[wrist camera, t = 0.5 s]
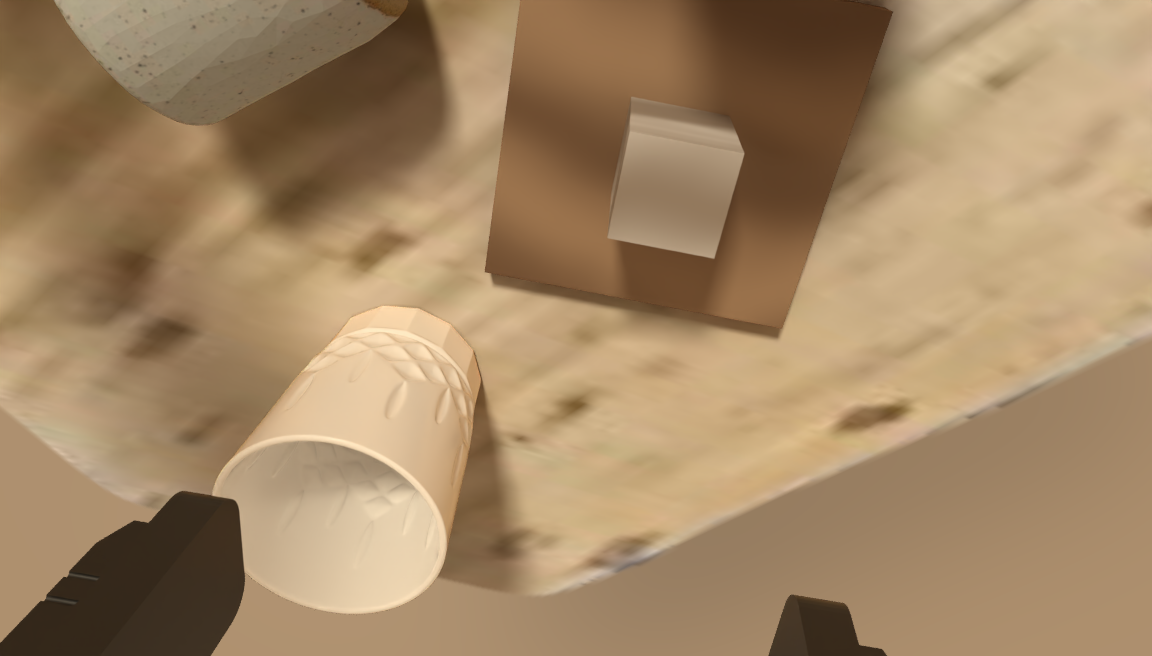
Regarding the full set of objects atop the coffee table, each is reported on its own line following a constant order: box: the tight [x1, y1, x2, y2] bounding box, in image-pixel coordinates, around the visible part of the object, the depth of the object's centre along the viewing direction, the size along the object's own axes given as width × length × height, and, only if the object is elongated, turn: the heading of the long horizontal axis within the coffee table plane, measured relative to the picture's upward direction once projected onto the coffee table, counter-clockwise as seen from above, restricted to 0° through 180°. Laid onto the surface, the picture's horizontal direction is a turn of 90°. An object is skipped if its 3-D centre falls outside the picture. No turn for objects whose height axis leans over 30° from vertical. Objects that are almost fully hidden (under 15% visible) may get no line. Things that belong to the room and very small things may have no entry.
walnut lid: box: [485, 0, 893, 328], centre depth 27 cm, size 12×12×6 cm
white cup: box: [212, 306, 481, 614], centre depth 31 cm, size 8×8×10 cm
